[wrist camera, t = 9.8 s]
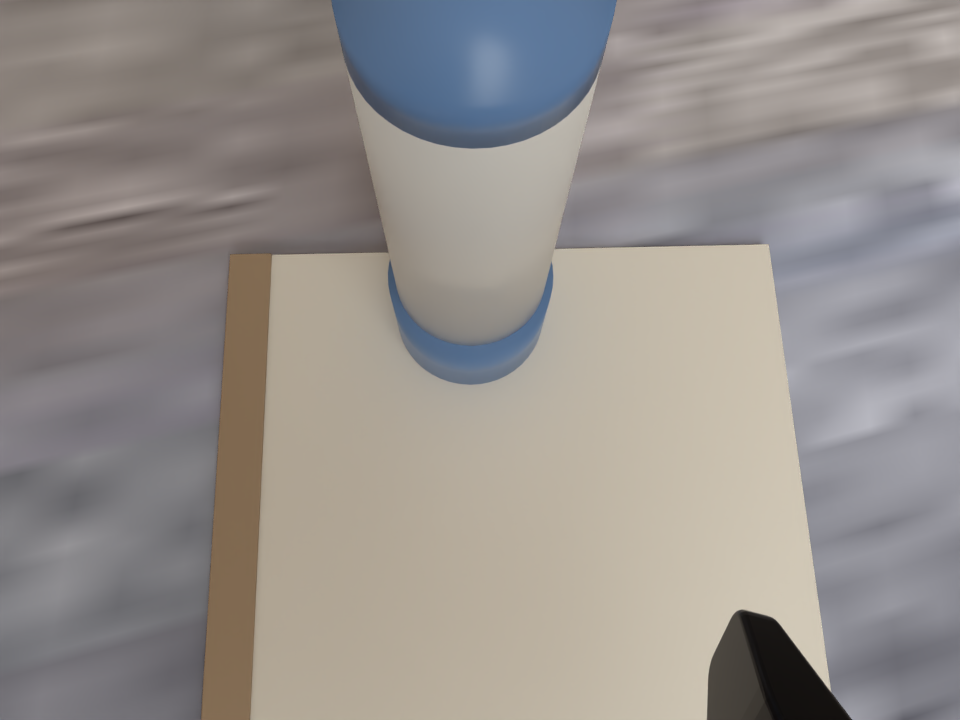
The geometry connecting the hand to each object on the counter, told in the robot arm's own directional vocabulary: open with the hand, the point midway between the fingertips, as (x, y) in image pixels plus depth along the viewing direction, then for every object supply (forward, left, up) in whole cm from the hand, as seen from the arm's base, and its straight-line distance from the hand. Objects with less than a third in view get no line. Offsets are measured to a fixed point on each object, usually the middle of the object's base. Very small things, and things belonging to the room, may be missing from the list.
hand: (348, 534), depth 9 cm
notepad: (+1, -3, -13) cm, 13 cm away
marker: (+7, -2, -12) cm, 14 cm away
